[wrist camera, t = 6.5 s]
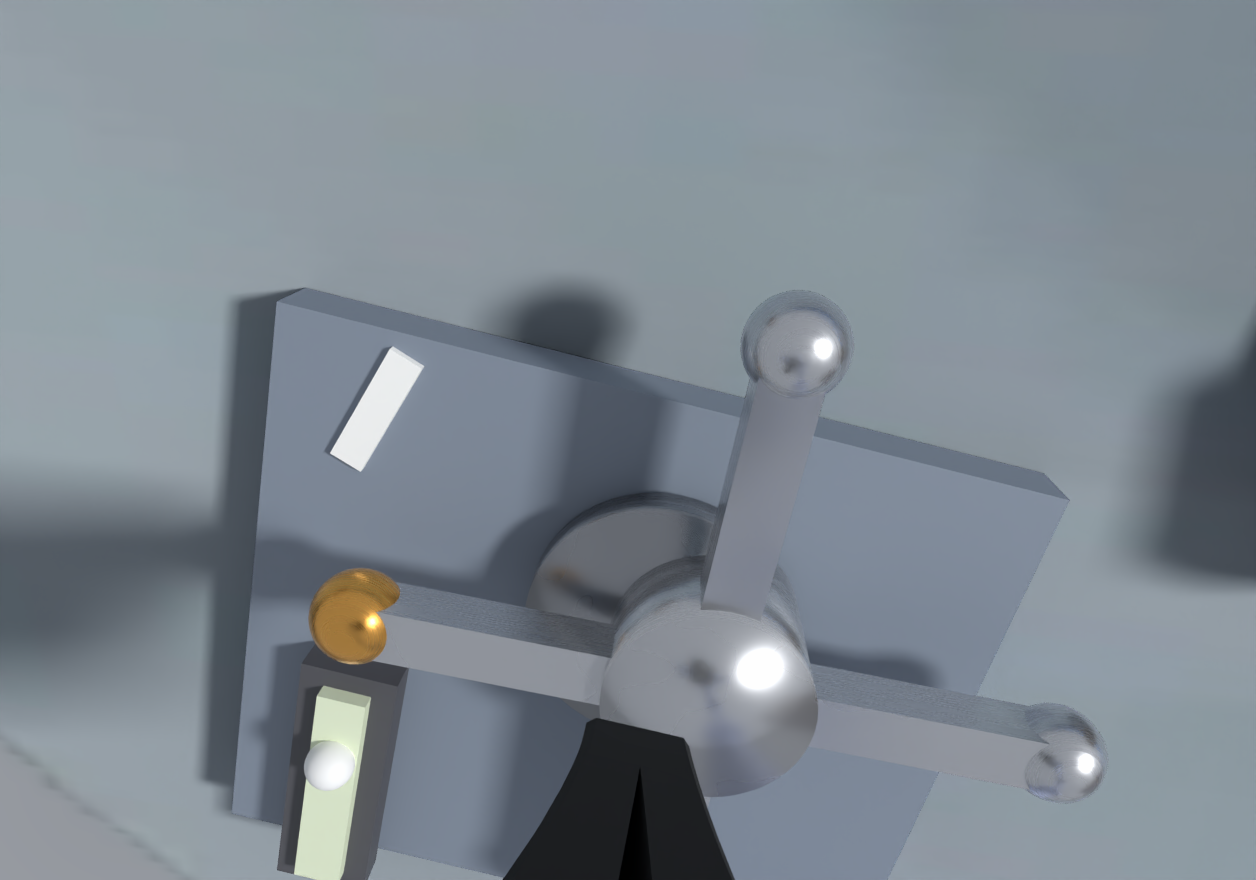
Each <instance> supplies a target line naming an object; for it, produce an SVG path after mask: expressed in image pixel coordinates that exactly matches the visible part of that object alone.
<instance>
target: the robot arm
mask: <svg viewBox="0 0 1256 880" xmlns="http://www.w3.org/2000/svg"><path fill="white" fill-rule="evenodd" d="M503 880H735V878H734V876H733V873H732V871H731V868H730V866H729V863H728V861H727V858H726V856H725V854H724V851H723V849H722V846H721V844H720V841H719V839H718V836H717V833H716V830H715V828H714V825H713V822H712V820H711V817H710V814H709V811H708V808H707V805H706V802H705V799H704V796H703V793H702V790H701V787H700V784H699V780H698V777H697V774H696V770H695V767H694V763H693V760H692V756H691V752H690V748H689V745H688V744H687V742H686V741H685V739H684V738H683V737H678V736H674V735H670V734H665V733H661V732H657V731H652V730H648V729H644V728H639V727H635V726H630V725H626V724H622V723H617V722H613V721H609V720H604V719H600V718H595V719H593V720H591V721H589V722H587V723H586V726H585V730H584V734H583V738H582V742H581V746H580V748H579V751H578V754H577V756H576V758H575V761H574V763H573V765H572V767H571V769H570V771H569V773H568V775H567V777H566V779H565V781H564V783H563V785H562V787H561V789H560V791H559V792H558V794H557V796H556V798H555V799H554V801H553V803H552V805H551V806H550V808H549V810H548V812H547V813H546V815H545V817H544V818H543V820H542V822H541V824H540V825H539V827H538V828H537V830H536V832H535V833H534V835H533V836H532V838H531V839H530V841H529V842H528V843H527V845H526V846H525V848H524V849H523V851H522V852H521V854H520V855H519V857H518V858H517V860H516V861H515V862H514V864H513V865H512V867H511V868H510V870H509V871H508V873H507V874H506V876H505V877H504V878H503Z"/></svg>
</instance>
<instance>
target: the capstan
mask: <svg viewBox="0 0 1256 880" xmlns="http://www.w3.org/2000/svg"><path fill="white" fill-rule="evenodd" d="M853 352H854V337H853V332H852V329H851V326H850V323H849V321H848V319H847V317H846V315H845V314H844V313H843V311H842V310H841V309H840V308H839V307H838V306H837V305H836V304H835V303H834V302H832V301H831V300H830V299H828V298H826V297H825V296H823V295H820V294H818V293H815V292H811V291H805V290H792V291H786V292H782V293H779V294H776V295H774V296H772V297H770V298H768V299H767V300H765V301H764V302H763V303H761V304H760V305H759V306H758V307H757V308H756V309H755V310H754V312H753V313H752V314H751V315H750V317H749V319H748V320H747V322H746V324H745V326H744V329H743V333H742V337H741V358H742V362H743V365H744V367H745V370H746V372H747V374H748V376H749V377H750V379H749V383H748V387H747V392H746V396H745V400H744V404H743V408H742V412H741V416H740V420H739V424H738V428H737V432H736V436H735V440H734V444H733V448H732V452H731V456H730V460H729V464H728V468H727V472H726V476H725V480H724V484H723V488H722V492H721V496H720V500H719V504H718V508H717V507H715V506H713V505H711V504H708V503H706V502H703V501H701V500H698V499H694V498H690V497H686V496H682V495H676V494H669V493H639V494H630V495H625V496H621V497H617V498H613V499H610V500H607V501H604V502H602V503H599V504H597V505H595V506H593V507H591V508H589V509H587V510H585V511H583V512H582V513H580V514H579V515H578V516H576V517H575V518H573V519H572V520H570V521H569V522H568V523H567V524H566V525H565V526H564V527H563V528H562V529H561V530H560V531H559V532H558V533H557V534H556V535H555V536H554V538H553V539H552V540H551V541H550V543H549V544H548V546H547V548H546V549H545V551H544V553H543V554H542V556H541V559H540V561H539V564H538V566H537V568H536V571H535V574H534V577H533V580H532V583H531V586H530V589H529V593H528V597H527V601H526V606H525V607H521V606H516V605H511V604H506V603H501V602H496V601H491V600H486V599H481V598H475V597H470V596H465V595H460V594H455V593H450V592H445V591H440V590H435V589H430V588H425V587H420V586H414V585H409V584H404V583H399V582H394V580H392V579H391V578H390V577H389V576H387V575H386V574H384V573H382V572H380V571H377V570H373V569H369V568H353V569H348V570H345V571H342V572H339V573H337V574H335V575H334V576H332V577H331V578H329V579H328V580H327V581H326V582H325V583H324V584H323V585H322V586H321V587H320V588H319V589H318V591H317V592H316V594H315V595H314V597H313V599H312V602H311V605H310V608H309V616H308V622H309V629H310V633H311V636H312V638H313V640H314V642H315V643H316V645H317V646H318V648H319V649H320V650H321V651H322V652H323V653H324V654H326V655H327V656H329V657H330V658H332V659H334V660H336V661H339V662H341V663H345V664H365V663H369V662H372V661H376V662H381V663H386V664H391V665H396V666H401V667H406V668H412V669H417V670H422V671H427V672H432V673H437V674H442V675H447V676H452V677H457V678H463V679H468V680H473V681H478V682H483V683H488V684H493V685H498V686H503V687H508V688H513V689H519V690H524V691H529V692H534V693H539V694H544V695H549V696H554V697H559V698H560V699H561V700H563V701H564V702H565V703H566V704H568V705H569V706H570V707H571V708H572V709H574V710H575V711H577V712H579V713H580V714H582V715H583V716H585V717H587V718H589V719H591V720H593V719H595V718H600V719H604V720H609V721H613V722H617V723H622V724H626V725H630V726H635V727H639V728H644V729H648V730H652V731H657V732H661V733H665V734H670V735H674V736H678V737H683V738H684V739H685V741H686V742H687V744H688V745H689V748H690V752H691V756H692V760H693V763H694V767H695V770H696V774H697V777H698V780H699V784H700V787H701V790H702V793H703V796H704V799H705V802H706V805H707V808H708V805H709V802H710V798H711V797H725V796H732V795H737V794H742V793H745V792H749V791H753V790H755V789H758V788H760V787H763V786H765V785H767V784H769V783H771V782H772V781H774V780H776V779H778V778H779V777H780V776H782V775H783V774H785V773H786V772H787V771H788V770H789V769H790V768H792V767H793V766H794V765H795V764H796V763H797V762H798V760H799V759H800V758H801V757H802V755H803V754H804V753H805V751H806V749H807V748H808V746H809V747H814V748H819V749H824V750H829V751H835V752H840V753H845V754H850V755H855V756H860V757H865V758H870V759H875V760H880V761H885V762H891V763H896V764H901V765H906V766H911V767H916V768H921V769H926V770H931V771H936V772H942V773H947V774H952V775H957V776H962V777H967V778H972V779H977V780H982V781H987V782H992V783H998V784H1003V785H1008V786H1013V787H1018V788H1023V789H1025V790H1027V791H1028V792H1030V793H1031V794H1033V795H1034V796H1036V797H1038V798H1041V799H1043V800H1046V801H1049V802H1054V803H1073V802H1077V801H1080V800H1083V799H1085V798H1087V797H1089V796H1090V795H1092V794H1093V793H1094V792H1095V791H1096V790H1097V789H1098V788H1099V787H1100V785H1101V784H1102V782H1103V781H1104V778H1105V776H1106V773H1107V769H1108V753H1107V748H1106V745H1105V742H1104V739H1103V737H1102V736H1101V734H1100V732H1099V731H1098V729H1097V728H1096V727H1095V725H1094V724H1093V723H1092V722H1091V721H1090V720H1089V719H1088V718H1087V717H1085V716H1084V715H1083V714H1081V713H1080V712H1078V711H1076V710H1075V709H1072V708H1070V707H1067V706H1065V705H1061V704H1055V703H1040V704H1035V705H1032V706H1025V705H1020V704H1015V703H1010V702H1005V701H1000V700H994V699H989V698H984V697H979V696H974V695H969V694H964V693H959V692H954V691H949V690H944V689H938V688H933V687H928V686H923V685H918V684H913V683H908V682H903V681H898V680H893V679H888V678H882V677H877V676H872V675H867V674H862V673H857V672H852V671H847V670H842V669H837V668H832V667H827V666H821V665H816V664H811V663H810V661H809V656H808V651H807V646H806V642H805V637H804V632H803V628H802V623H801V618H800V613H799V609H798V604H797V600H796V596H795V592H794V590H793V587H792V585H791V582H790V581H789V579H788V577H787V576H786V574H785V573H784V571H783V570H782V569H781V568H780V566H779V565H778V564H777V562H778V559H779V555H780V552H781V548H782V545H783V541H784V538H785V534H786V531H787V527H788V524H789V520H790V517H791V513H792V510H793V506H794V503H795V499H796V496H797V492H798V489H799V485H800V482H801V478H802V475H803V471H804V467H805V464H806V460H807V457H808V453H809V450H810V446H811V443H812V439H813V436H814V432H815V429H816V425H817V422H818V418H819V415H820V411H821V408H822V404H823V401H824V397H825V394H826V393H828V392H829V391H831V390H832V389H833V388H834V387H836V386H837V385H838V384H839V382H840V381H841V380H842V379H843V377H844V376H845V375H846V373H847V371H848V369H849V367H850V364H851V362H852V357H853Z"/></svg>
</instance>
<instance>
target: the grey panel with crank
mask: <svg viewBox="0 0 1256 880" xmlns="http://www.w3.org/2000/svg"><path fill="white" fill-rule="evenodd" d="M744 400H745V398H742V397H738V396H734V395H730V394H726V393H722V392H718V391H714V390H710V389H706V388H702V387H698V386H694V385H690V384H686V383H682V382H678V381H674V380H670V379H666V378H662V377H658V376H654V375H650V374H646V373H642V372H638V371H634V370H630V369H626V368H622V367H618V366H614V365H610V364H607V363H603V362H599V361H595V360H591V359H587V358H583V357H579V356H575V355H571V354H567V353H563V352H559V351H555V350H551V349H547V348H543V347H539V346H535V345H531V344H527V343H523V342H519V341H515V340H511V339H507V338H503V337H499V336H495V335H491V334H487V333H483V332H479V331H475V330H471V329H467V328H463V327H459V326H455V325H451V324H447V323H443V322H439V321H435V320H431V319H427V318H423V317H419V316H415V315H411V314H408V313H404V312H400V311H396V310H392V309H388V308H384V307H380V306H376V305H372V304H368V303H364V302H360V301H356V300H352V299H348V298H344V297H340V296H336V295H332V294H328V293H324V292H320V291H316V290H312V289H308V288H304V289H302V290H300V291H298V292H295V293H293V294H291V295H289V296H287V297H285V298H283V299H281V300H279V301H277V303H276V315H275V326H274V338H273V349H272V360H271V372H270V383H269V394H268V406H267V417H266V429H265V440H264V451H263V463H262V474H261V486H260V497H259V508H258V520H257V531H256V543H255V554H254V565H253V577H252V588H251V600H250V611H249V622H248V634H247V645H246V657H245V668H244V679H243V691H242V702H241V714H240V725H239V736H238V748H237V759H236V770H235V782H234V793H233V805H232V813H233V814H237V815H241V816H245V817H249V818H254V819H258V820H262V821H266V822H271V823H275V824H279V825H282V833H281V841H280V850H279V858H278V867H277V870H279V871H283V872H287V873H291V874H295V875H299V876H304V877H308V878H312V879H316V880H368V877H369V875H370V872H371V870H372V868H373V865H374V863H375V860H376V854H377V849H378V848H380V849H385V850H389V851H393V852H397V853H401V854H406V855H410V856H414V857H418V858H423V859H427V860H431V861H435V862H439V863H444V864H448V865H452V866H456V867H461V868H465V869H469V870H473V871H478V872H482V873H486V874H490V875H494V876H499V877H503V878H504V877H505V876H506V874H507V873H508V871H509V870H510V868H511V867H512V865H513V864H514V862H515V861H516V860H517V858H518V857H519V855H520V854H521V852H522V851H523V849H524V848H525V846H526V845H527V843H528V842H529V841H530V839H531V838H532V836H533V835H534V833H535V832H536V830H537V828H538V827H539V825H540V824H541V822H542V820H543V818H544V817H545V815H546V813H547V812H548V810H549V808H550V806H551V805H552V803H553V801H554V799H555V798H556V796H557V794H558V792H559V791H560V789H561V787H562V785H563V783H564V781H565V779H566V777H567V775H568V773H569V771H570V769H571V767H572V765H573V763H574V761H575V758H576V756H577V754H578V751H579V748H580V746H581V742H582V738H583V734H584V730H585V726H586V723H587V722H589V721H591V719H589V718H587V717H585V716H583V715H582V714H580V713H579V712H577V711H575V710H574V709H572V708H571V707H570V706H569V705H568V704H566V703H565V702H564V701H563V700H561V699H560V698H559V697H554V696H549V695H544V694H539V693H534V692H529V691H524V690H519V689H513V688H508V687H503V686H498V685H493V684H488V683H483V682H478V681H473V680H468V679H463V678H457V677H452V676H447V675H442V674H437V673H432V672H427V671H422V670H417V669H412V668H406V667H401V666H396V665H391V664H386V663H381V662H376V661H372V662H369V663H365V664H345V663H341V662H339V661H336V660H334V659H332V658H330V657H329V656H327V655H326V654H324V653H323V652H322V651H321V650H320V649H319V648H318V646H317V645H316V643H315V642H314V640H313V638H312V636H311V633H310V629H309V622H308V616H309V608H310V605H311V602H312V599H313V597H314V595H315V594H316V592H317V591H318V589H319V588H320V587H321V586H322V585H323V584H324V583H325V582H326V581H327V580H328V579H329V578H331V577H332V576H334V575H335V574H337V573H339V572H342V571H345V570H348V569H353V568H369V569H373V570H377V571H380V572H382V573H384V574H386V575H387V576H389V577H390V578H391V579H392V580H394V582H399V583H404V584H409V585H414V586H420V587H425V588H430V589H435V590H440V591H445V592H450V593H455V594H460V595H465V596H470V597H475V598H481V599H486V600H491V601H496V602H501V603H506V604H511V605H516V606H521V607H525V606H526V601H527V597H528V593H529V589H530V586H531V583H532V580H533V577H534V574H535V571H536V568H537V566H538V564H539V561H540V559H541V556H542V554H543V553H544V551H545V549H546V548H547V546H548V544H549V543H550V541H551V540H552V539H553V538H554V536H555V535H556V534H557V533H558V532H559V531H560V530H561V529H562V528H563V527H564V526H565V525H566V524H567V523H568V522H569V521H570V520H572V519H573V518H575V517H576V516H578V515H579V514H580V513H582V512H583V511H585V510H587V509H589V508H591V507H593V506H595V505H597V504H599V503H602V502H604V501H607V500H610V499H613V498H617V497H621V496H625V495H630V494H639V493H669V494H676V495H682V496H686V497H690V498H694V499H698V500H701V501H703V502H706V503H708V504H711V505H713V506H715V507H717V508H718V504H719V500H720V496H721V492H722V488H723V484H724V480H725V476H726V472H727V468H728V464H729V460H730V456H731V452H732V448H733V444H734V440H735V436H736V432H737V428H738V424H739V420H740V416H741V412H742V408H743V404H744ZM1069 501H1070V500H1069V499H1068V498H1067V497H1066V496H1065V495H1064V494H1063V493H1062V492H1061V491H1060V490H1059V488H1058V487H1057V486H1056V485H1055V484H1054V483H1053V482H1052V481H1051V480H1050V479H1049V478H1048V477H1047V476H1046V475H1045V474H1044V473H1040V472H1036V471H1032V470H1028V469H1024V468H1020V467H1016V466H1012V465H1008V464H1005V463H1001V462H997V461H993V460H989V459H985V458H981V457H977V456H973V455H969V454H965V453H961V452H957V451H953V450H949V449H945V448H941V447H937V446H933V445H929V444H925V443H921V442H917V441H913V440H909V439H905V438H901V437H897V436H893V435H889V434H885V433H881V432H877V431H873V430H869V429H865V428H861V427H857V426H853V425H849V424H845V423H841V422H837V421H833V420H829V419H825V418H821V417H819V418H818V422H817V425H816V429H815V432H814V436H813V439H812V443H811V446H810V450H809V453H808V457H807V460H806V464H805V467H804V471H803V475H802V478H801V482H800V485H799V489H798V492H797V496H796V499H795V503H794V506H793V510H792V513H791V517H790V520H789V524H788V527H787V531H786V534H785V538H784V541H783V545H782V548H781V552H780V555H779V559H778V562H777V564H778V565H779V566H780V568H781V569H782V570H783V571H784V573H785V574H786V576H787V577H788V579H789V581H790V582H791V585H792V587H793V590H794V592H795V596H796V600H797V604H798V609H799V613H800V618H801V623H802V628H803V632H804V637H805V642H806V646H807V651H808V656H809V661H810V663H811V664H816V665H821V666H827V667H832V668H837V669H842V670H847V671H852V672H857V673H862V674H867V675H872V676H877V677H882V678H888V679H893V680H898V681H903V682H908V683H913V684H918V685H923V686H928V687H933V688H938V689H944V690H949V691H954V692H959V693H964V694H969V695H974V696H976V694H977V692H978V690H979V688H980V686H981V684H982V682H983V680H984V678H985V676H986V674H987V671H988V669H989V667H990V665H991V663H992V661H993V659H994V657H995V655H996V653H997V651H998V649H999V646H1000V644H1001V642H1002V640H1003V638H1004V636H1005V634H1006V632H1007V630H1008V628H1009V626H1010V624H1011V622H1012V619H1013V617H1014V615H1015V613H1016V611H1017V609H1018V607H1019V605H1020V603H1021V601H1022V599H1023V597H1024V594H1025V592H1026V590H1027V588H1028V586H1029V584H1030V582H1031V580H1032V578H1033V576H1034V574H1035V572H1036V569H1037V567H1038V565H1039V563H1040V561H1041V559H1042V557H1043V555H1044V553H1045V551H1046V549H1047V547H1048V544H1049V542H1050V540H1051V538H1052V536H1053V534H1054V532H1055V530H1056V528H1057V526H1058V524H1059V522H1060V520H1061V517H1062V515H1063V513H1064V511H1065V509H1066V507H1067V505H1068V503H1069ZM938 773H939V772H936V771H931V770H926V769H921V768H916V767H911V766H906V765H901V764H896V763H891V762H885V761H880V760H875V759H870V758H865V757H860V756H855V755H850V754H845V753H840V752H835V751H829V750H824V749H819V748H814V747H809V746H808V748H807V749H806V751H805V753H804V754H803V755H802V757H801V758H800V759H799V760H798V762H797V763H796V764H795V765H794V766H793V767H792V768H790V769H789V770H788V771H787V772H786V773H785V774H783V775H782V776H780V777H779V778H778V779H776V780H774V781H772V782H771V783H769V784H767V785H765V786H763V787H760V788H758V789H755V790H753V791H749V792H745V793H742V794H737V795H732V796H725V797H711V798H710V802H709V805H708V811H709V814H710V817H711V820H712V822H713V825H714V828H715V830H716V833H717V836H718V839H719V841H720V844H721V846H722V849H723V851H724V854H725V856H726V858H727V861H728V863H729V866H730V868H731V871H732V873H733V876H734V878H735V880H888V878H889V875H890V873H891V871H892V869H893V867H894V865H895V863H896V861H897V859H898V857H899V855H900V853H901V850H902V848H903V846H904V844H905V842H906V840H907V838H908V836H909V834H910V832H911V830H912V828H913V826H914V823H915V821H916V819H917V817H918V815H919V813H920V811H921V809H922V807H923V805H924V803H925V801H926V798H927V796H928V794H929V792H930V790H931V788H932V786H933V784H934V782H935V780H936V778H937V776H938Z"/></svg>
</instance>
